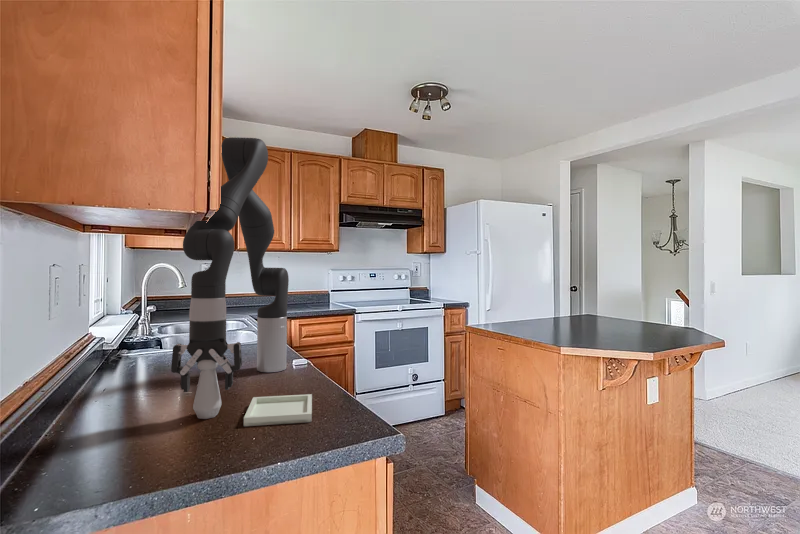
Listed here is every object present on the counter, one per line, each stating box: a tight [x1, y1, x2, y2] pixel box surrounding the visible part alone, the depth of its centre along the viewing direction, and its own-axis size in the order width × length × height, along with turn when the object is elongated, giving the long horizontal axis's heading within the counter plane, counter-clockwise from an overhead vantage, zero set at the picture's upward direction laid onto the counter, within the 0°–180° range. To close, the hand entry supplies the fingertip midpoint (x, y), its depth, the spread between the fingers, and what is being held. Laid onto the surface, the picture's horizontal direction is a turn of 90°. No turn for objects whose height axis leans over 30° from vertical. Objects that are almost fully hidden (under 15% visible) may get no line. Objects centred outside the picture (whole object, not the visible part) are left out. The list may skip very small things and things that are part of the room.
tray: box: [243, 393, 313, 427], centre depth 95 cm, size 14×14×2 cm
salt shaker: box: [192, 360, 223, 420], centre depth 93 cm, size 6×6×13 cm
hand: (207, 390), depth 93 cm, fingers open, 8 cm apart
